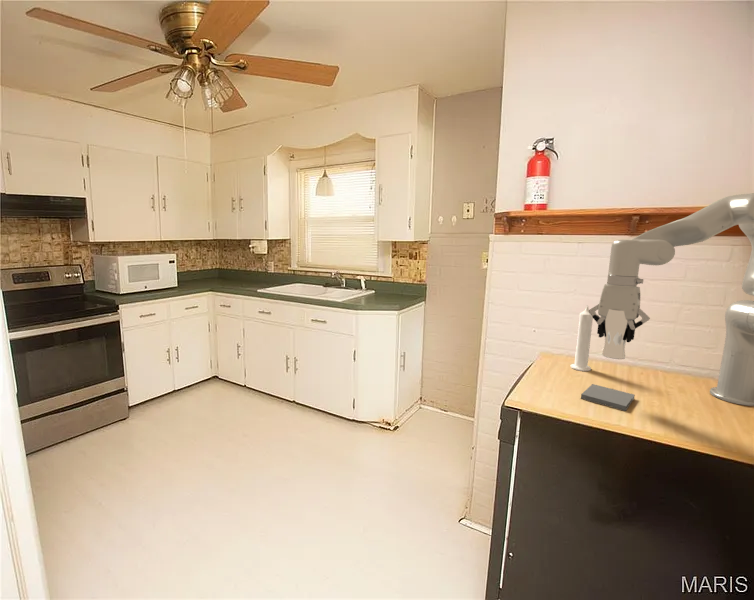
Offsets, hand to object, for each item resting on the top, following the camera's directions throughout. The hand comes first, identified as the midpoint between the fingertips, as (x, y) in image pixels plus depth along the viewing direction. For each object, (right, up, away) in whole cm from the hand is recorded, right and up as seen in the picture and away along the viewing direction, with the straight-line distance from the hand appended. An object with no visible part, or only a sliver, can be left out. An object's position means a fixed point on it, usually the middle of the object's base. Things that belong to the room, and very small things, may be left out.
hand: (614, 338), depth 115 cm
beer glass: (0, -6, +1) cm, 6 cm away
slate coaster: (0, -19, +3) cm, 20 cm away
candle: (+7, -15, +31) cm, 35 cm away
